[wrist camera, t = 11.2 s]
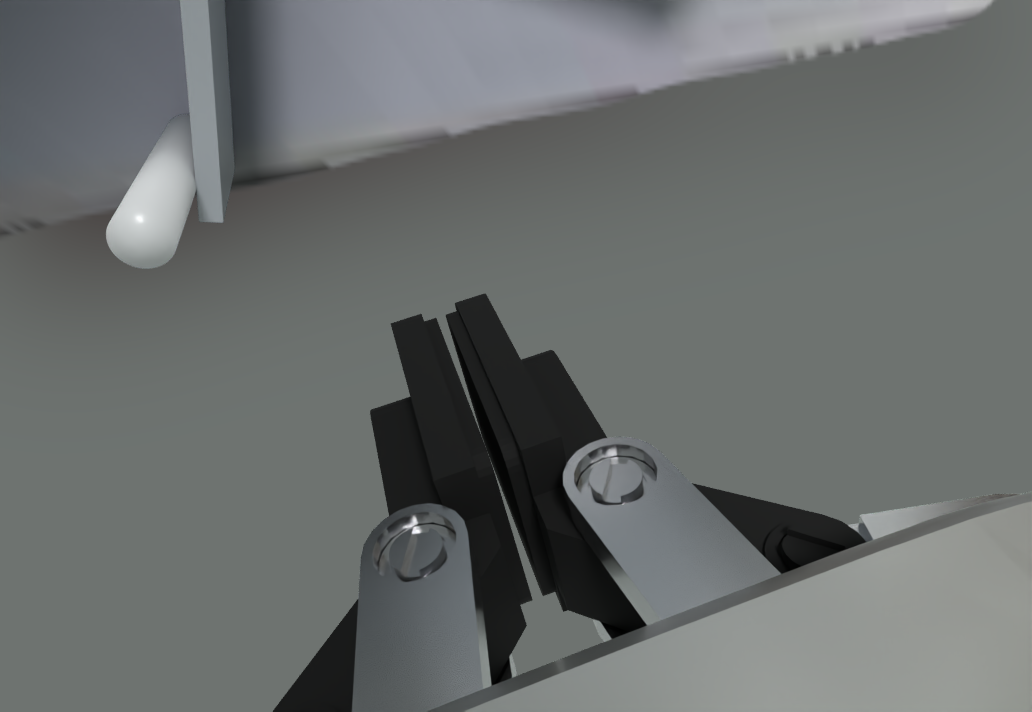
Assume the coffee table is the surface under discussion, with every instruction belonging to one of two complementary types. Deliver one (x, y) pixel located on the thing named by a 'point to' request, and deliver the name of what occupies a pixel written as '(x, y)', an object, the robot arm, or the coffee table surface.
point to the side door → (183, 151)
